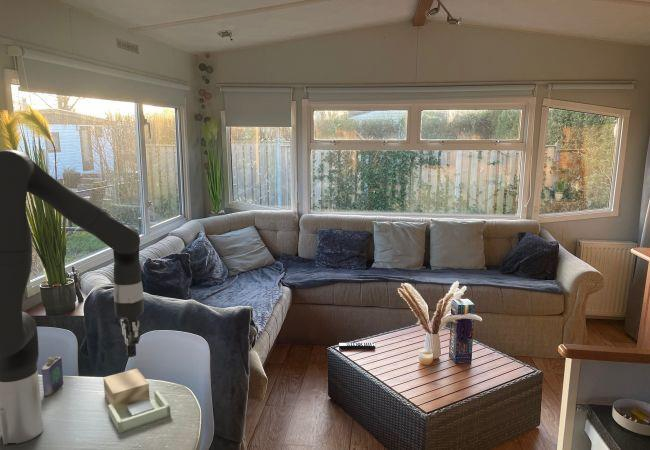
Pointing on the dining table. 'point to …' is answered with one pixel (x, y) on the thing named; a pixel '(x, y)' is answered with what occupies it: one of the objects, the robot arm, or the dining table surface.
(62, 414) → the dining table surface
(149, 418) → the tray
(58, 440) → the dining table surface
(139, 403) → the tile
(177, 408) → the dining table surface
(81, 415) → the dining table surface
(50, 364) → the flask
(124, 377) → the cardboard box
